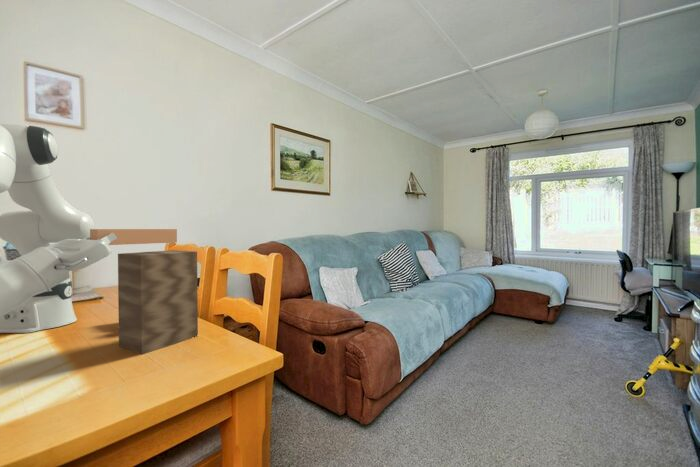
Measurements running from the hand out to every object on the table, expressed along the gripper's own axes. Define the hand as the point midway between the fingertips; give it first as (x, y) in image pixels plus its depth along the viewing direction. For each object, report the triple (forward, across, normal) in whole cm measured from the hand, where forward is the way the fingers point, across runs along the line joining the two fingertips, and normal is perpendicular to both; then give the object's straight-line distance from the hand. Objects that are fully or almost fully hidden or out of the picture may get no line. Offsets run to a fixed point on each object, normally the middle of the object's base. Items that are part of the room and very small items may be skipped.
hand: (108, 235), depth 81 cm
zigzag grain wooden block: (-5, 0, +34) cm, 34 cm away
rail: (+5, 0, +6) cm, 7 cm away
